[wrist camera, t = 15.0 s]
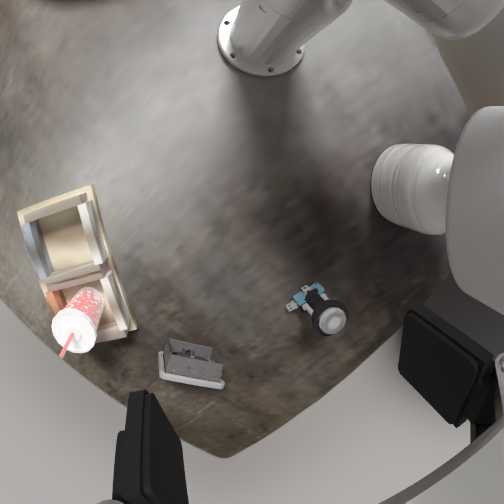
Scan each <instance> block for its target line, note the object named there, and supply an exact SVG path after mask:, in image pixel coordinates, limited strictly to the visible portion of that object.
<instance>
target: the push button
mask: <svg viewBox="0 0 504 504" xmlns="http://www.w3.org/2000/svg"><path fill="white" fill-rule="evenodd" d="M305 287H306V288H305ZM304 288H305V289H304ZM301 289H302V291H301V292H299V293H297V294H295V295H294V296H293V298H294V300H293V301H291V303H289V304H287V305H286V308H287V309H288V310H289V312H290V311H292V310H294V309H297V308H299V309H300V311H301V312H302V313H304V312H306V311H308V313H309V314H310V315H311V317H312V323H313V328H314V330H315V331H316V332H317V333H318V334H319V335H322V336H330V335H333V334H335V333H337V332H339V331H340V330H341V329H342V328H343V327H344V325H345V323H346V321H347V319H348V310H347V308H346V306H345V305H344V304H343V303H341V302H339V301H335V300H329V299H328V298H327V295H326V293H325V290H324V288H323V287H322V286H321V285H320V284H319V283H318V282H316V283H314V284H313V285H311V286H309V287H308V286H307V285H305V286H304V287H302V288H301ZM288 305H290V307H288ZM337 306H338V307H339V308H338V307H337ZM291 307H292V309H290V308H291ZM318 324H319V326H320V327H319V326H318Z"/></svg>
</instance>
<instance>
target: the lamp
mask: <svg viewBox="0 0 504 504" xmlns="http://www.w3.org/2000/svg"><path fill="white" fill-rule="evenodd" d="M371 191H372V197H373V201H374V203H375V206H376V208H377V209H378V211H379V212H380V214H381V215H382V216H383V217H384V218H386V219H387V220H389V221H391V222H393V223H395V224H397V225H400V226H403V227H407V228H410V229H412V230H415V231H418V232H420V233H423V234H427V235H440V234H444V233H446V245H447V254H448V260H449V264H450V268H451V271H452V274H453V277H454V279H455V281H456V283H457V284H458V286H459V287H460V288H461V289H462V291H464V292H465V293H467V294H469V295H470V296H472V297H474V298H475V299H477V300H479V301H481V302H482V303H484V304H486V305H488V306H489V307H491V308H493V309H494V310H496V311H498V312H499V313H501V314H503V315H504V106H489V107H484V108H481V109H480V110H478V111H477V112H476V113H474V114H473V116H472V117H471V118H470V119H469V120H468V122H467V124H466V125H465V127H464V129H463V131H462V133H461V136H460V138H459V141H458V144H457V147H456V150H455V153H454V154H453V153H452V152H451V151H450V150H448V149H446V148H444V147H442V146H439V145H431V144H397V145H393V146H391V147H389V148H387V149H386V150H385V151H384V152H383V153H382V154H381V155H380V156H379V158H378V160H377V161H376V163H375V166H374V168H373V172H372V177H371Z"/></svg>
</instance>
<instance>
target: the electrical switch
mask: <svg viewBox="0 0 504 504" xmlns="http://www.w3.org/2000/svg"><path fill="white" fill-rule="evenodd" d="M176 342H177V343H176ZM182 344H183V345H182ZM183 349H184V351H183ZM195 349H196V350H195ZM212 349H213V351H212ZM187 350H190V351H191V356H190V355H187V354H186V351H187ZM194 350H195V351H194ZM182 351H183V352H182ZM193 352H194V355H193ZM192 355H193V356H192ZM194 356H195V357H194ZM158 361H159V376H160V377H161V378H162V379H165V380H170V381H175V382H180V383H185V384H191V385H197V386H203V387H209V388H215V389H223V387H224V385H225V382H224V381H223V380H222V379H221V376H222V369H223V365H224V364H223V362H222V360H221V359H220V357H219V356H218V354H217V352H216V351H215V349H214V348H212V347H208V346H203V345H198V344H193V343H189V342H184V341H180V340H175V339H171V338H167V343H166V345H165V349H164V352H163V351H160V352H159V355H158Z"/></svg>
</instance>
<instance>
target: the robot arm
mask: <svg viewBox="0 0 504 504" xmlns="http://www.w3.org/2000/svg"><path fill="white" fill-rule="evenodd" d="M384 1H386V2H387V3H389V4H391V5H392V6H394V7H395V8H396V9H398V10H399V11H401V12H402V13H404V14H405V15H407V16H408V17H409V18H411V19H412V20H414V21H415V22H416V23H418V24H419V25H421V26H422V27H423V28H425V29H426V30H428V31H430V32H431V33H433V34H435V35H437V36H440V37H443V38H447V39H460V38H464V37H467V36H470V35H472V34H474V33H475V32H477V31H479V30H480V29H482V28H483V27H484V26H485V25H486V24H488V23H489V22H490V21H491V20H492V19H493V18H494V17H495V16H496V15H497V13H498V12H500V10H501V9H502V8H503V7H504V0H384ZM351 3H352V0H242V3H241V5H240V6H238V7H236V8H234V9H232V10H231V11H230V12H229V13H227V14H226V16H225V17H224V18H223V19H222V21H221V24H220V26H219V29H218V44H219V47H220V50H221V52H222V54H223V55H224V56H225V58H226V59H227V60H228V61H229V62H230V63H231V64H232V65H233V66H235V67H236V68H238V69H239V70H241V71H244V72H246V73H248V74H252V75H255V76H263V77H266V76H276V75H280V74H283V73H285V72H287V71H289V70H290V69H292V68H293V67H294V66H295V65H297V64H298V62H299V61H300V60H301V58H302V56H303V54H304V50H305V43H306V42H307V41H309V40H310V39H311V38H312V37H314V36H315V35H316V34H317V33H319V32H320V31H321V30H322V29H324V28H325V27H326V26H328V25H329V24H330V23H332V22H333V21H334V20H336V19H337V18H338V17H339V16H341V15H342V14H343V13H344V12H345V11H346V10H347V9H348V8H349V6H350V5H351ZM224 24H227V25H224ZM296 52H297V53H298V54H297V53H296ZM231 56H233V57H234V58H231ZM268 70H270V71H271V72H269V71H268ZM493 357H494V355H493V354H492V353H490V352H489V351H488V350H486V349H485V348H484V347H482V346H481V345H479V344H478V343H477V342H475V341H474V340H472V339H470V337H468V336H467V335H465V334H464V333H463V332H461V331H460V330H458V329H457V328H455V327H454V326H453V325H451V324H449V323H448V322H447V321H445V320H443V319H442V318H441V317H439V316H438V315H436V314H435V313H434V312H432V311H430V310H429V309H428V308H426V307H425V306H423V305H418V306H416V307H414V308H411V309H409V310H408V311H407V314H406V315H405V318H404V326H403V335H402V343H401V350H400V357H399V363H398V370H399V372H400V374H401V375H402V376H403V377H404V378H405V379H406V380H407V381H408V382H409V383H410V384H411V385H412V386H413V387H414V388H415V389H416V390H417V391H418V392H419V393H420V394H421V396H422V397H423V398H424V399H425V400H426V401H427V402H428V403H429V404H430V405H431V406H432V407H433V408H434V409H435V410H436V411H437V412H438V413H439V414H440V415H441V416H442V417H443V418H444V419H445V420H446V421H447V422H448V423H449V424H453V425H454V426H455V427H456V428H457V427H459V426H460V425H461V424H463V423H464V422H465V421H466V420H467V419H468V420H469V421H470V432H471V433H470V436H471V438H470V439H471V441H470V444H469V445H468V446H467V447H466V448H464V450H462V451H461V452H459V453H458V454H457V455H455V456H454V457H453V458H451V459H450V460H449V461H447V462H446V463H445V464H443V465H442V466H440V467H439V468H437V469H436V470H435V471H433V472H432V473H430V474H429V475H427V476H426V477H424V478H422V479H421V480H419V481H418V482H416V483H414V484H413V485H411V486H410V487H408V488H406V489H405V490H403V491H401V492H400V493H398V494H396V495H394V496H392V497H390V498H388V499H387V500H385V501H383V502H381V503H379V504H504V353H502V354H500V355H499V356H498V357H497V358H496V361H493V360H492V359H493ZM98 504H189V503H188V495H187V487H186V480H185V471H184V462H183V452H182V445H181V441H180V439H179V437H178V435H177V434H176V432H175V430H174V429H173V427H172V425H171V423H170V422H169V420H168V418H167V417H166V415H165V413H164V411H163V410H162V408H161V406H160V404H159V402H158V400H157V399H156V397H155V395H154V394H153V393H150V394H149V393H148V391H147V390H142V391H136V392H130V394H129V399H128V407H127V416H126V424H125V430H124V431H120V432H119V433H118V436H117V443H116V454H115V464H114V479H113V493H112V500H105V501H102V502H100V503H98Z"/></svg>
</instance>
